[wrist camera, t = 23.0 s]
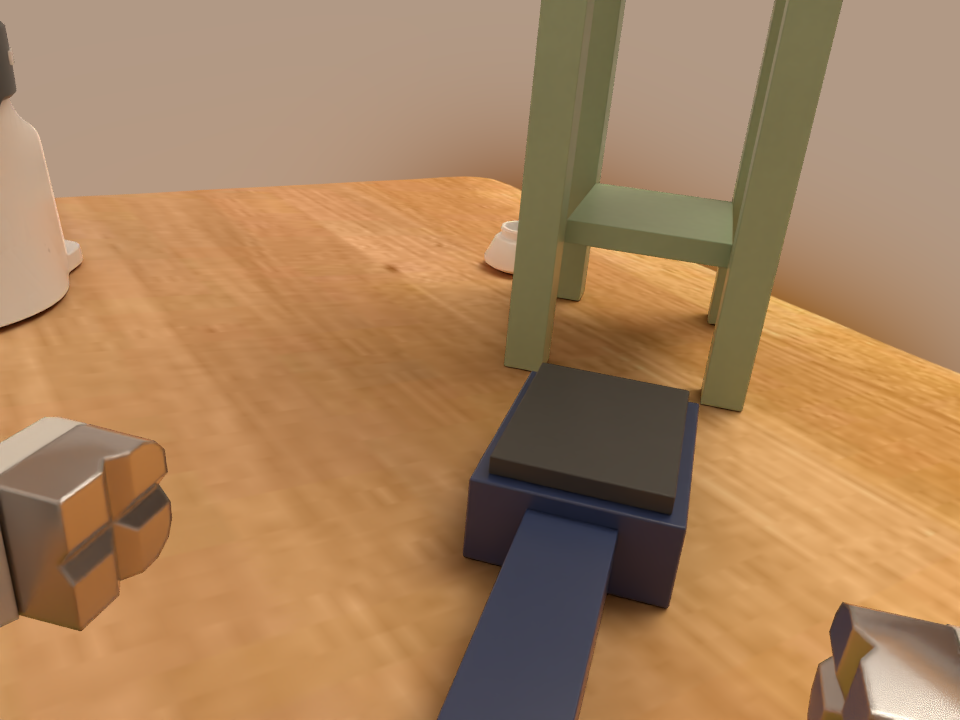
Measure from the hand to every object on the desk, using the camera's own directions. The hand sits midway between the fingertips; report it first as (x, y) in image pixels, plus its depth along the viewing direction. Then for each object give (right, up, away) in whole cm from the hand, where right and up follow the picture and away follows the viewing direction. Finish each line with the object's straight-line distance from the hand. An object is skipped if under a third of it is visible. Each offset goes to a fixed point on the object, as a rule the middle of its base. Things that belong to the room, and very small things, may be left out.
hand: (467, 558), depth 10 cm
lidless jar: (+3, +9, +48) cm, 48 cm away
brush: (+3, -5, +17) cm, 18 cm away
